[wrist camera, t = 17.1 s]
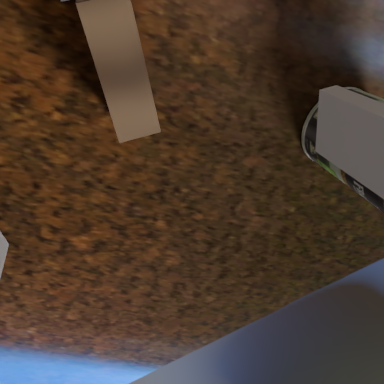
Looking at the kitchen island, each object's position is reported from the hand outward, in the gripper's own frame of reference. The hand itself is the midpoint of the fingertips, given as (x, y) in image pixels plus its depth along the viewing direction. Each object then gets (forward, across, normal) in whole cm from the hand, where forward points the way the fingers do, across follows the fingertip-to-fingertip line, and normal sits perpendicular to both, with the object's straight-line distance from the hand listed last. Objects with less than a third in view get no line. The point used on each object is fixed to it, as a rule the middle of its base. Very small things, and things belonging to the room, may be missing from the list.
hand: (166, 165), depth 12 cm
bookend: (+22, 0, -4) cm, 23 cm away
